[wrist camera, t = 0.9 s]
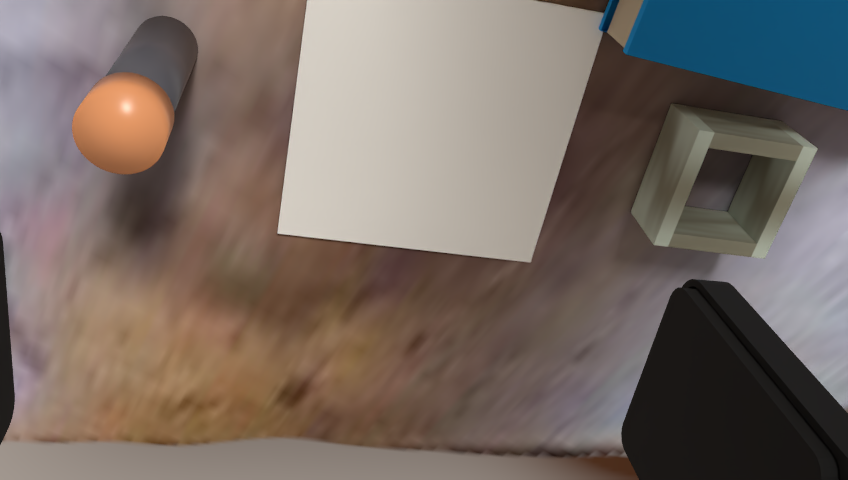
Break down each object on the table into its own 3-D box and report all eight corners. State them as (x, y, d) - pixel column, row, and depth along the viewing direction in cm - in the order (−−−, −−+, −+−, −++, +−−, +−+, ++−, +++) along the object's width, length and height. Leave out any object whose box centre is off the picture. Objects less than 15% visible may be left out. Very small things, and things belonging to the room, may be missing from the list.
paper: (312, -41, 35) (312, -40, 35) (607, 13, 38) (608, 14, 37) (277, 231, 42) (277, 233, 41) (529, 260, 44) (530, 262, 44)
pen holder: (671, 103, 40) (699, 130, 37) (782, 121, 42) (817, 148, 39) (630, 212, 44) (653, 245, 41) (734, 225, 45) (764, 258, 42)
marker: (131, 7, 35) (71, 85, 27) (203, 19, 36) (167, 98, 27) (130, 74, 37) (72, 168, 28) (199, 84, 37) (163, 179, 29)
